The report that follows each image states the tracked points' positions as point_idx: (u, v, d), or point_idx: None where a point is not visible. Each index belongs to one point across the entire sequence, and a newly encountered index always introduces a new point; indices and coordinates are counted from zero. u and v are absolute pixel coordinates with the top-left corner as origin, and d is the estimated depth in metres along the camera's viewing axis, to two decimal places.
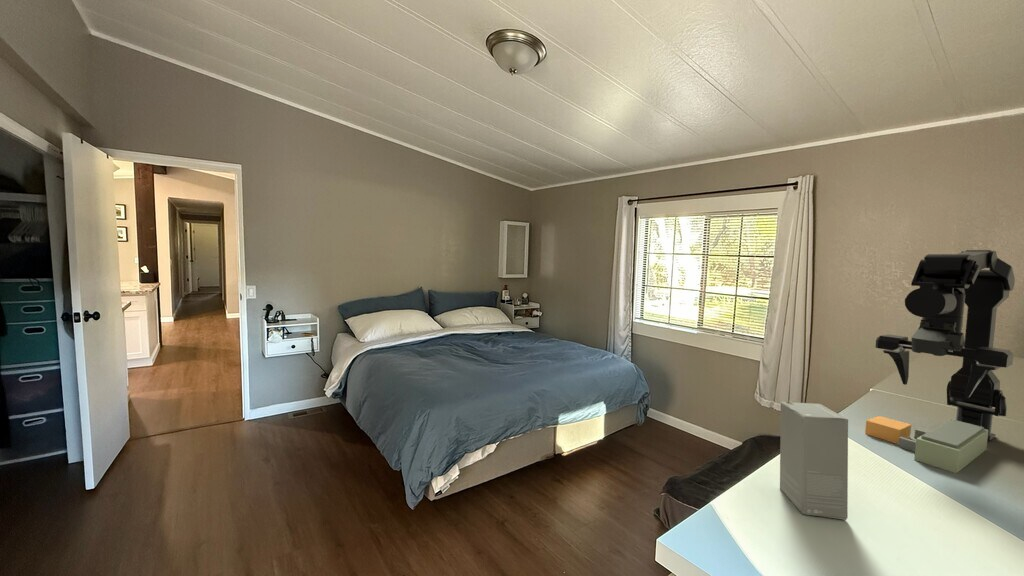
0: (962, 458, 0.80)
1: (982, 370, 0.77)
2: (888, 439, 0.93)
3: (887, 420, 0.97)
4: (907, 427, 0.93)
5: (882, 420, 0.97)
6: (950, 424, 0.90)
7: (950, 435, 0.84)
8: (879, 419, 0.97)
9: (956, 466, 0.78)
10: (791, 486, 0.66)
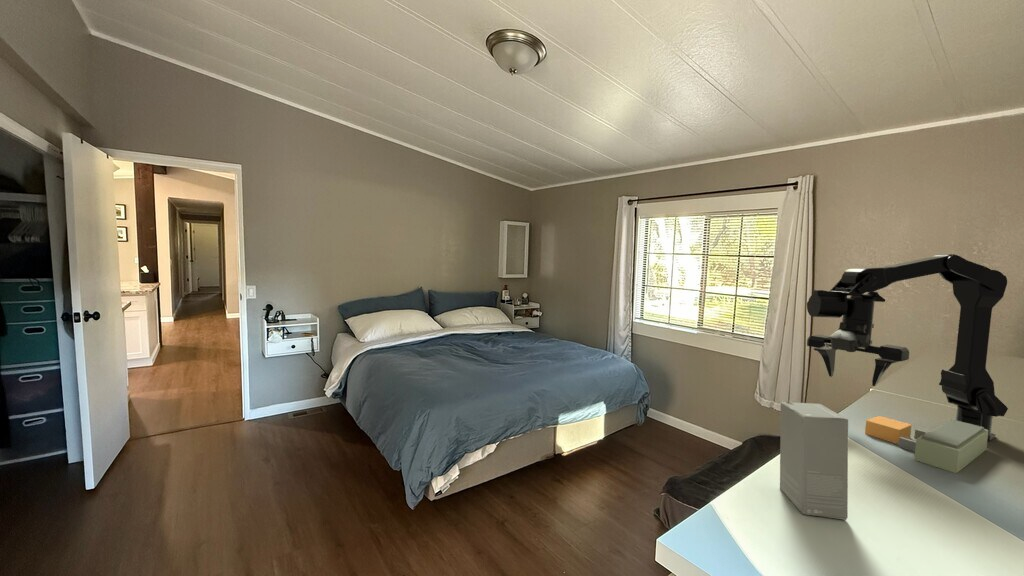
0: (962, 458, 0.80)
1: (883, 363, 0.94)
2: (888, 439, 0.93)
3: (887, 420, 0.97)
4: (907, 427, 0.93)
5: (882, 420, 0.97)
6: (950, 424, 0.90)
7: (950, 435, 0.84)
8: (879, 419, 0.97)
9: (956, 466, 0.78)
10: (791, 486, 0.66)
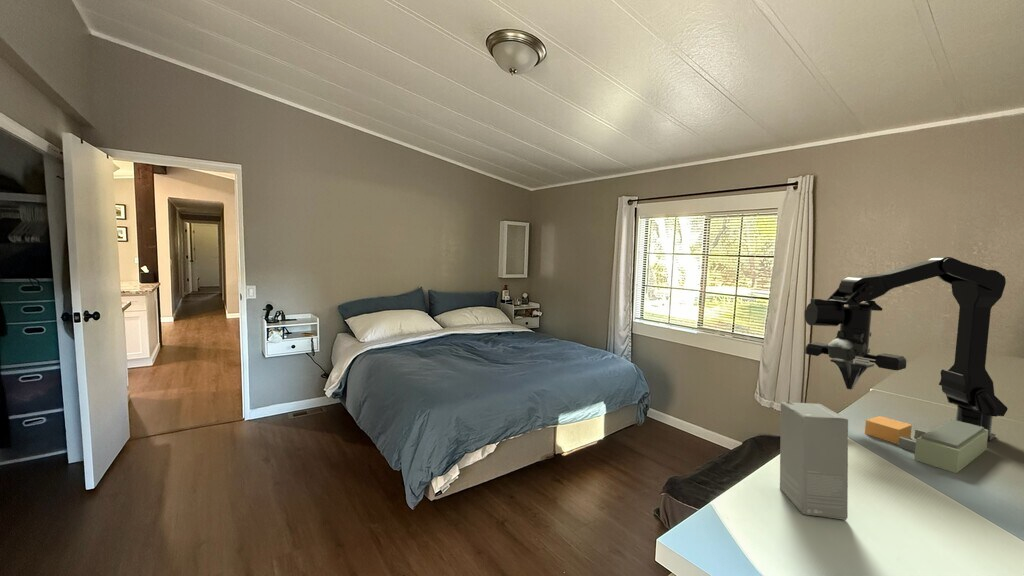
0: (962, 458, 0.80)
1: (858, 368, 0.98)
2: (887, 439, 0.93)
3: (887, 420, 0.97)
4: (907, 427, 0.93)
5: (882, 420, 0.97)
6: (950, 424, 0.90)
7: (950, 435, 0.84)
8: (879, 419, 0.97)
9: (956, 466, 0.78)
10: (791, 486, 0.66)
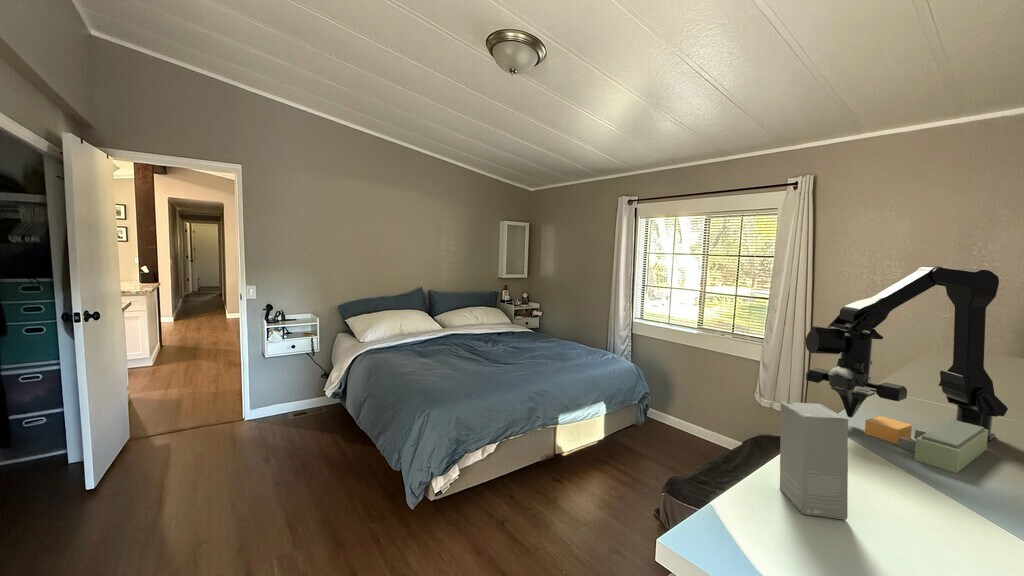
0: (962, 458, 0.80)
1: (858, 397, 0.98)
2: (887, 439, 0.93)
3: (887, 420, 0.97)
4: (907, 427, 0.93)
5: (882, 420, 0.97)
6: (950, 424, 0.90)
7: (950, 435, 0.84)
8: (879, 419, 0.97)
9: (956, 466, 0.78)
10: (791, 486, 0.66)
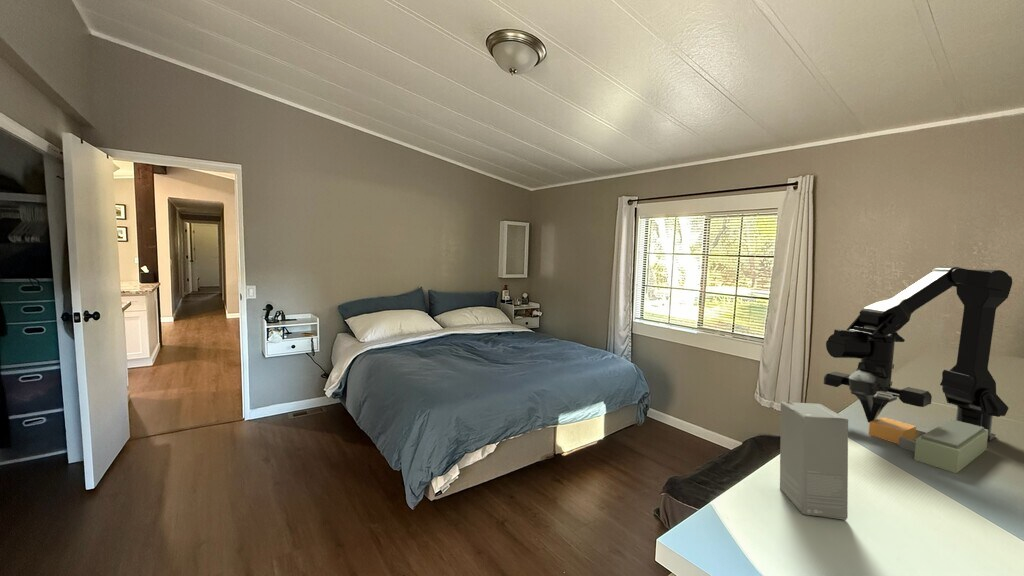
0: (962, 458, 0.80)
1: (880, 402, 0.95)
2: (891, 440, 0.92)
3: (892, 421, 0.96)
4: (912, 429, 0.93)
5: (886, 421, 0.96)
6: (950, 424, 0.90)
7: (950, 435, 0.84)
8: (883, 420, 0.97)
9: (956, 466, 0.78)
10: (791, 486, 0.66)
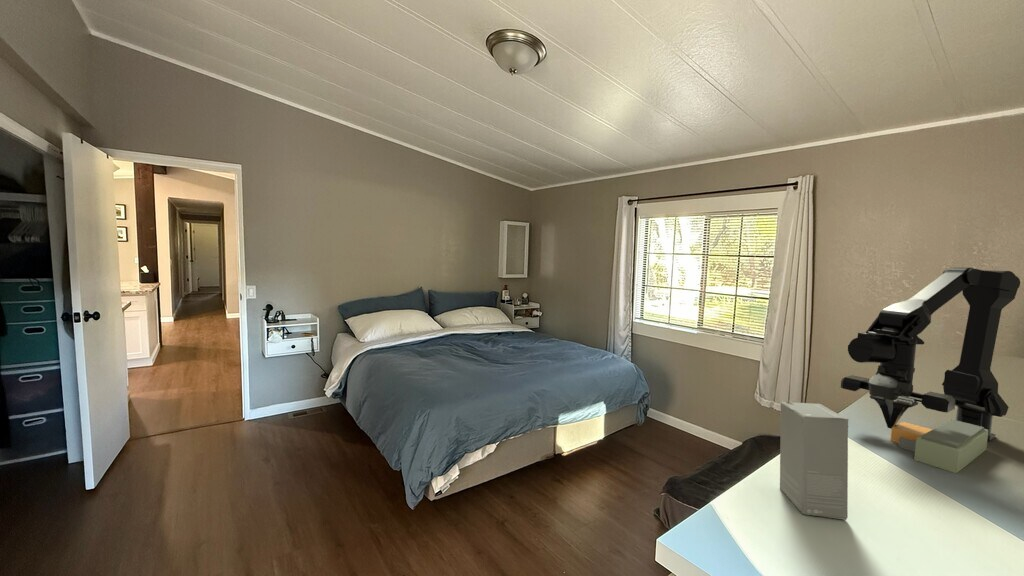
0: (962, 458, 0.80)
1: (901, 407, 0.92)
2: None
3: (913, 426, 0.93)
4: None
5: (908, 426, 0.93)
6: (950, 424, 0.90)
7: (950, 435, 0.84)
8: (904, 425, 0.94)
9: (956, 466, 0.78)
10: (791, 486, 0.66)
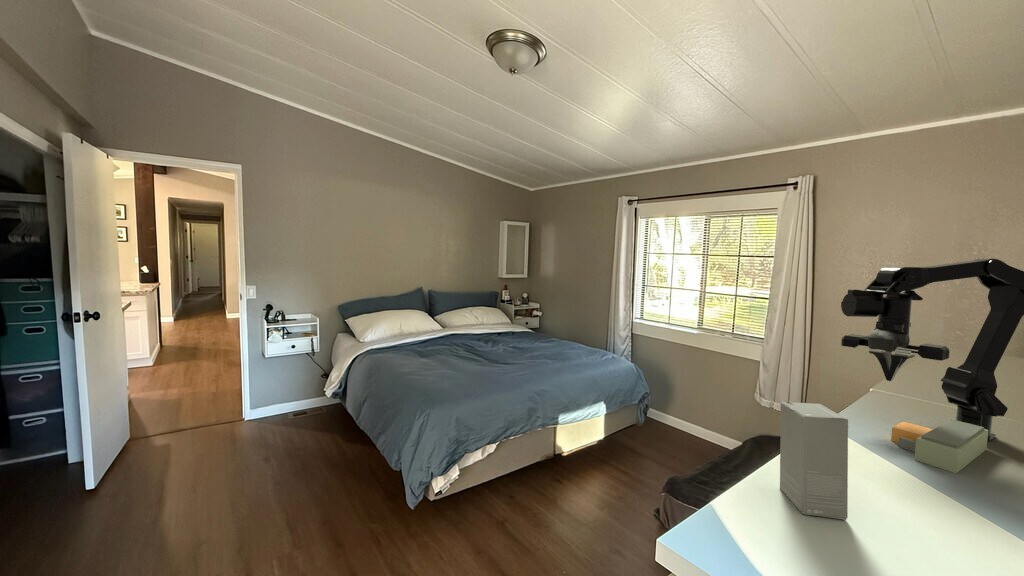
0: (962, 458, 0.80)
1: (899, 359, 0.97)
2: None
3: (913, 426, 0.93)
4: None
5: (908, 426, 0.93)
6: (950, 424, 0.90)
7: (950, 435, 0.84)
8: (905, 425, 0.94)
9: (956, 466, 0.78)
10: (791, 486, 0.66)
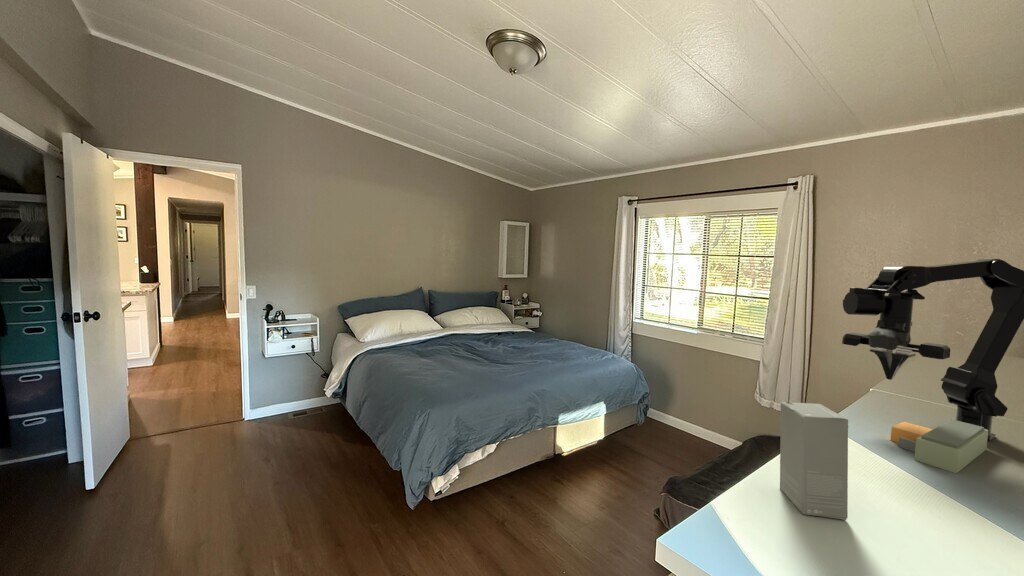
0: (962, 458, 0.80)
1: (899, 357, 0.97)
2: None
3: (913, 426, 0.93)
4: None
5: (908, 426, 0.93)
6: (950, 424, 0.90)
7: (950, 435, 0.84)
8: (905, 425, 0.94)
9: (956, 466, 0.78)
10: (791, 486, 0.66)
